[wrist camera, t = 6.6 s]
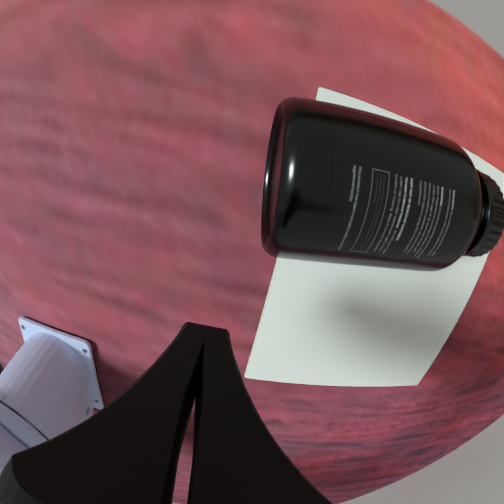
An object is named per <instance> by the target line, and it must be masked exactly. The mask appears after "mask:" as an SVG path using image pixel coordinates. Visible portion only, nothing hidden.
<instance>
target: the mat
mask: <svg viewBox="0 0 504 504" xmlns="http://www.w3.org/2000/svg"><path fill="white" fill-rule="evenodd" d="M316 100H318V101H324V102H329V103H334V104H338V105H343V106H347V107H351V108H355V109H359V110H363V111H367V112H371V113H374V114H378V115H382V116H385V117H388V118H392V119H395V120H398V121H401V122H404V123H408V124H411V125H414V126H416V127H419V128H422V129H425V130H428V131H430V132H433V131H431V130H429V129H427V128H425V127H423V126H420V125H418V124H416V123H414V122H412V121H410V120H408V119H405V118H403V117H401V116H398V115H396V114H394V113H391V112H389V111H387V110H384V109H382V108H379V107H377V106H374V105H371V104H369V103H366V102H363V101H361V100H358V99H355V98H352V97H349V96H346V95H343V94H340V93H337V92H334V91H331V90H328V89H324V88H321V87H319V88H318V92H317V96H316ZM433 133H435V132H433ZM436 134H437V133H436ZM438 135H439V134H438ZM463 149H464V148H463ZM464 151H465V152H466V153H467V154H468V156H469V157H470V159H471V160H472V162H473V164H474V166H475V168H476V169H478V170H479V171H480V172H482V173H484V174H486V175H489V176H490V177H491V178H492V179H493V180H495V181H496V183H497V185H498V186H499V187H500V190H501V192H502V193H503V198H504V173H502V172H501V171H499V170H498V169H496V168H495V167H493V166H492V165H490V164H489V163H487V162H486V161H484V160H482V159H481V158H479V157H478V156H476V155H474V154H473V153H471V152H469V151H468V150H466V149H464ZM488 254H489V252H488V253H487V254H483V255H482V256H477V257H469V256H461V258H459V259H458V260H457V261H456V262H455V263H453V264H452V265H450V266H449V267H447V268H445V269H442V270H439V271H413V270H402V269H390V268H379V267H367V266H356V265H345V264H334V263H323V262H312V261H301V260H292V259H283V258H277V260H276V264H275V268H274V271H273V275H272V279H271V283H270V286H269V290H268V294H267V297H266V301H265V304H264V308H263V312H262V315H261V319H260V322H259V326H258V330H257V333H256V337H255V340H254V344H253V347H252V351H251V354H250V358H249V361H248V364H247V368H246V371H245V378H251V379H259V380H267V381H276V382H286V383H298V384H311V385H329V386H410V385H418V383H419V382H420V381H421V379H422V378H423V376H424V375H425V373H426V372H427V370H428V369H429V367H430V366H431V364H432V363H433V361H434V360H435V358H436V357H437V355H438V354H439V352H440V350H441V349H442V347H443V345H444V344H445V342H446V340H447V339H448V337H449V335H450V333H451V332H452V330H453V328H454V326H455V325H456V323H457V321H458V319H459V317H460V315H461V313H462V311H463V310H464V308H465V306H466V304H467V302H468V300H469V298H470V295H471V293H472V291H473V289H474V287H475V285H476V283H477V280H478V278H479V276H480V273H481V271H482V269H483V266H484V264H485V261H486V259H487V256H488Z"/></svg>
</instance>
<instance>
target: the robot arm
mask: <svg viewBox="0 0 504 504" xmlns="http://www.w3.org/2000/svg"><path fill="white" fill-rule="evenodd" d="M19 324H20V328H21V331H22V335H23V338H24V341H25V343H24V344H23V346H22V347H21V348H20V349H19V351H18V352H17V353H16V354H15V356H14V357H13V358H12V359H11V361H10V362H9V363H8V365H7V366H6V367H5V368H4V370H3V371H2V372H1V374H0V504H172V500H173V492H174V485H175V478H176V472H177V465H178V460H179V455H180V451H181V447H182V443H183V440H184V436H185V432H186V429H187V425H188V421H189V418H190V414H191V411H192V407H193V403H194V400H195V413H194V435H193V458H192V469H191V477H190V485H189V493H188V501H187V504H332V503H331V502H330V501H329V500H328V499H326V498H325V497H324V496H323V495H322V494H321V493H320V492H319V491H318V490H317V489H316V488H315V487H314V486H313V485H312V484H311V483H310V482H309V481H308V480H307V479H306V478H305V477H304V476H303V475H302V474H301V473H300V471H299V470H298V469H297V468H296V467H295V465H294V464H293V463H292V462H291V461H290V459H289V458H288V457H287V456H286V455H285V453H284V452H283V451H282V449H281V448H280V447H279V445H278V444H277V442H276V441H275V440H274V438H273V437H272V435H271V434H270V432H269V431H268V429H267V427H266V426H265V424H264V422H263V421H262V419H261V417H260V416H259V414H258V412H257V410H256V408H255V406H254V404H253V402H252V400H251V398H250V396H249V394H248V392H247V389H246V387H245V385H244V382H243V380H242V377H241V375H240V372H239V369H238V367H237V364H236V361H235V357H234V354H233V350H232V346H231V342H230V335H229V332H228V331H227V329H222V328H216V327H211V326H206V325H201V324H196V323H191V322H187V323H185V324H184V325H183V327H182V328H181V330H180V332H179V333H178V335H177V336H176V337H175V339H174V340H173V341H172V343H171V344H170V345H169V346H168V348H167V349H166V350H165V351H164V352H163V353H162V355H161V356H160V357H159V358H158V359H157V360H156V362H155V363H154V364H153V365H152V366H151V367H150V368H149V369H148V370H147V371H146V372H145V373H144V374H143V375H142V376H141V377H140V378H139V379H138V380H137V381H136V382H135V383H134V384H132V385H131V386H130V387H129V388H128V389H127V390H126V391H124V392H123V393H122V394H121V395H120V396H118V397H117V398H116V399H115V400H113V401H112V402H111V403H109V404H108V405H107V406H105V407H104V404H103V400H102V396H101V392H100V388H99V384H98V379H97V375H96V370H95V365H94V360H93V354H92V349H91V344H90V343H89V342H88V341H87V340H84V339H81V338H78V337H75V336H72V335H70V334H67V333H64V332H61V331H58V330H56V329H53V328H50V327H48V326H45V325H43V324H40V323H37V322H35V321H32V320H30V319H28V318H25V317H23V316H21V317H20V318H19ZM94 408H97V409H100V411H98V412H97V413H95V414H94V415H93V416H91V413H92V411H93V409H94ZM90 416H91V417H90Z"/></svg>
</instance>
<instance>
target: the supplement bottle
mask: <svg viewBox="0 0 504 504" xmlns="http://www.w3.org/2000/svg"><path fill="white" fill-rule="evenodd" d="M503 229H504V198H503V193H502V192H501V190H500V187H499V186H498V185H497V183H496V181H495V180H493V179H492V178H491V177H490V176H489V175H486V174H484V173H482V172H480V171H479V170H478V169H476V168H475V166H474V164H473V162H472V160H471V159H470V157H469V156H468V154H467V153H466V152H465V151H464V149H463V148H462V147H461V146H459V145H458V144H457V143H455V142H454V141H452V140H450V139H448V138H446V137H444V136H441V135H438V134H436V133H433V132H430V131H428V130H425V129H422V128H419V127H416V126H414V125H411V124H408V123H404V122H401V121H398V120H395V119H392V118H388V117H385V116H382V115H378V114H374V113H371V112H367V111H363V110H359V109H355V108H351V107H347V106H343V105H338V104H334V103H329V102H324V101H318V100H312V99H306V98H299V97H289V98H286V99H284V100H282V101H281V102H280V103H279V104H278V106H277V109H276V112H275V116H274V120H273V124H272V129H271V135H270V141H269V147H268V154H267V162H266V170H265V179H264V189H263V201H262V219H261V238H262V246H263V248H264V250H265V251H266V252H267V253H268V254H270V255H271V256H273V257H277V258H283V259H292V260H301V261H312V262H323V263H334V264H345V265H356V266H367V267H379V268H390V269H402V270H413V271H439V270H442V269H445V268H447V267H449V266H450V265H452V264H453V263H455V262H456V261H457V260H458V259H459V258H461V256H469V257H477V256H482V255H483V254H487V253H488V252H489V251H490V250H492V249H493V248H494V246H495V245H496V244H497V243H498V240H499V239H500V237H501V235H502V231H503Z"/></svg>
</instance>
